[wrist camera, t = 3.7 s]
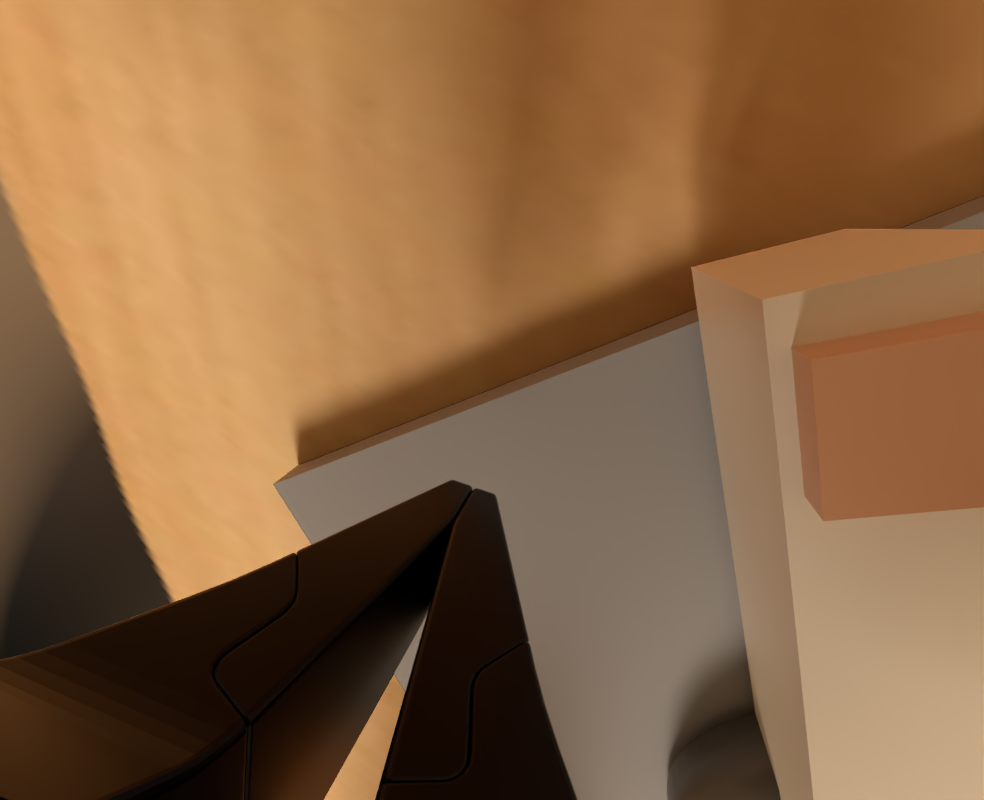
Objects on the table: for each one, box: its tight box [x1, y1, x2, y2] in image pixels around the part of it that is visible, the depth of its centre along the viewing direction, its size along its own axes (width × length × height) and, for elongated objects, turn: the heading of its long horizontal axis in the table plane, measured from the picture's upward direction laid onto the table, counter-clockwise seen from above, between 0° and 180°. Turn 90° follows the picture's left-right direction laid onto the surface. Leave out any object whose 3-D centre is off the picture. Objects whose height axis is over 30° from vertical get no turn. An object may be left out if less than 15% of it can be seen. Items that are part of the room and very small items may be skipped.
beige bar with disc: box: [667, 229, 984, 800], centre depth 8 cm, size 17×7×4 cm, turn 17°
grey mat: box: [273, 196, 984, 800], centre depth 11 cm, size 23×23×1 cm
